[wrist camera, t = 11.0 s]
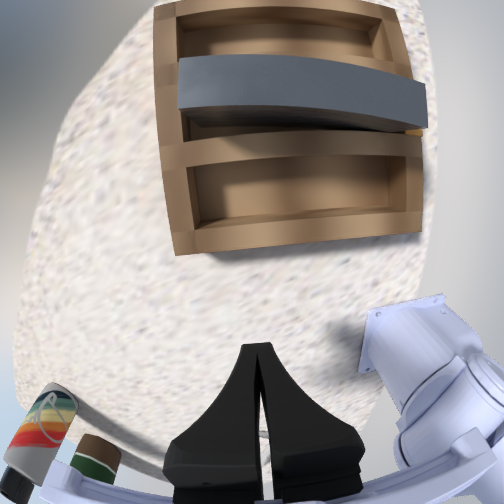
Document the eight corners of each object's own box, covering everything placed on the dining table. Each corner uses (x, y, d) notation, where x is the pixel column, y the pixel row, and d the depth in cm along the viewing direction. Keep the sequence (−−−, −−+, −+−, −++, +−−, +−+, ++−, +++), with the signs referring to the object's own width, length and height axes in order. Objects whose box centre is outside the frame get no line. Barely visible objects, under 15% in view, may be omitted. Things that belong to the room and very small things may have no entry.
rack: (378, 25, 14) (398, 8, 11) (400, 220, 20) (425, 232, 16) (166, 26, 14) (153, 5, 11) (186, 240, 20) (174, 257, 16)
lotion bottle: (73, 390, 26) (17, 506, 7) (83, 414, 27) (40, 519, 8) (42, 376, 25) (-19, 477, 6) (53, 401, 27) (5, 496, 8)
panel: (370, 103, 16) (424, 83, 9) (370, 135, 17) (428, 128, 10) (201, 94, 16) (179, 58, 9) (201, 128, 17) (177, 108, 10)
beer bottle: (124, 461, 32) (99, 565, 9) (85, 446, 31) (52, 543, 8) (120, 444, 30) (88, 564, 7) (77, 426, 29) (34, 537, 6)
